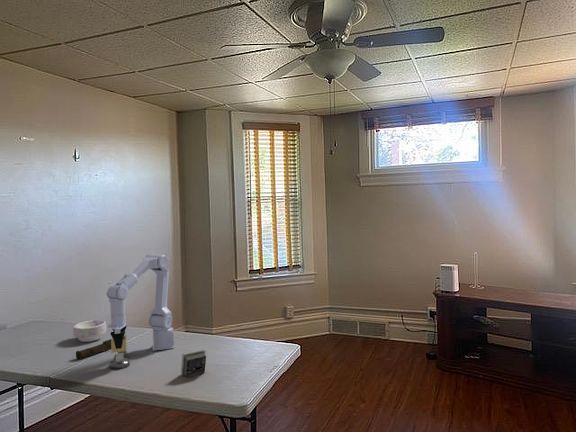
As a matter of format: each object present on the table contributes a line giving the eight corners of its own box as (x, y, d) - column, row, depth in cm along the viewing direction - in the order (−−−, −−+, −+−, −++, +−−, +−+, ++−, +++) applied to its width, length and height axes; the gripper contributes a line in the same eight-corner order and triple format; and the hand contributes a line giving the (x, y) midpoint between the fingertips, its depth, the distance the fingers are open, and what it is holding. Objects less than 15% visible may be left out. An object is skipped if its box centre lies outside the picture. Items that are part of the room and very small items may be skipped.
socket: (126, 346, 184) (126, 332, 184) (126, 350, 179) (125, 336, 179) (112, 348, 182) (112, 334, 182) (111, 352, 177) (111, 338, 177)
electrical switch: (203, 369, 175) (203, 347, 174) (208, 374, 171) (208, 352, 170) (180, 374, 170) (180, 352, 169) (185, 380, 166) (185, 357, 165)
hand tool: (80, 361, 188) (79, 350, 188) (75, 359, 191) (75, 349, 191) (119, 348, 204) (118, 339, 204) (114, 347, 206) (114, 337, 206)
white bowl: (66, 342, 215) (66, 326, 214) (91, 333, 229) (90, 318, 228) (89, 345, 209) (88, 329, 209) (113, 336, 223) (112, 321, 223)
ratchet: (129, 368, 178) (128, 356, 178) (109, 370, 176) (108, 358, 176) (131, 352, 198) (131, 341, 198) (113, 354, 195) (113, 343, 195)
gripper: (109, 310, 186) (110, 342, 186) (106, 319, 172) (107, 352, 173) (126, 309, 188) (128, 340, 188) (124, 317, 174) (126, 350, 175)
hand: (119, 346), depth 181 cm, fingers closed on socket, 6 cm apart
